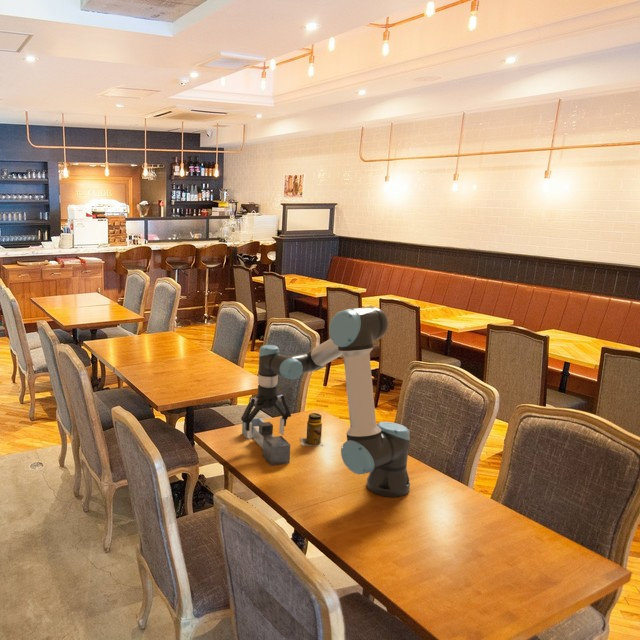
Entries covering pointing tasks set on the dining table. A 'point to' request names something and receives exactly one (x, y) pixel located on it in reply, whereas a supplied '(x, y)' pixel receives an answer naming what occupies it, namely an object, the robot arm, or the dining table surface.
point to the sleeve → (276, 450)
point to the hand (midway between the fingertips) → (265, 436)
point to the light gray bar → (262, 432)
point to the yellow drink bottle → (313, 431)
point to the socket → (254, 423)
